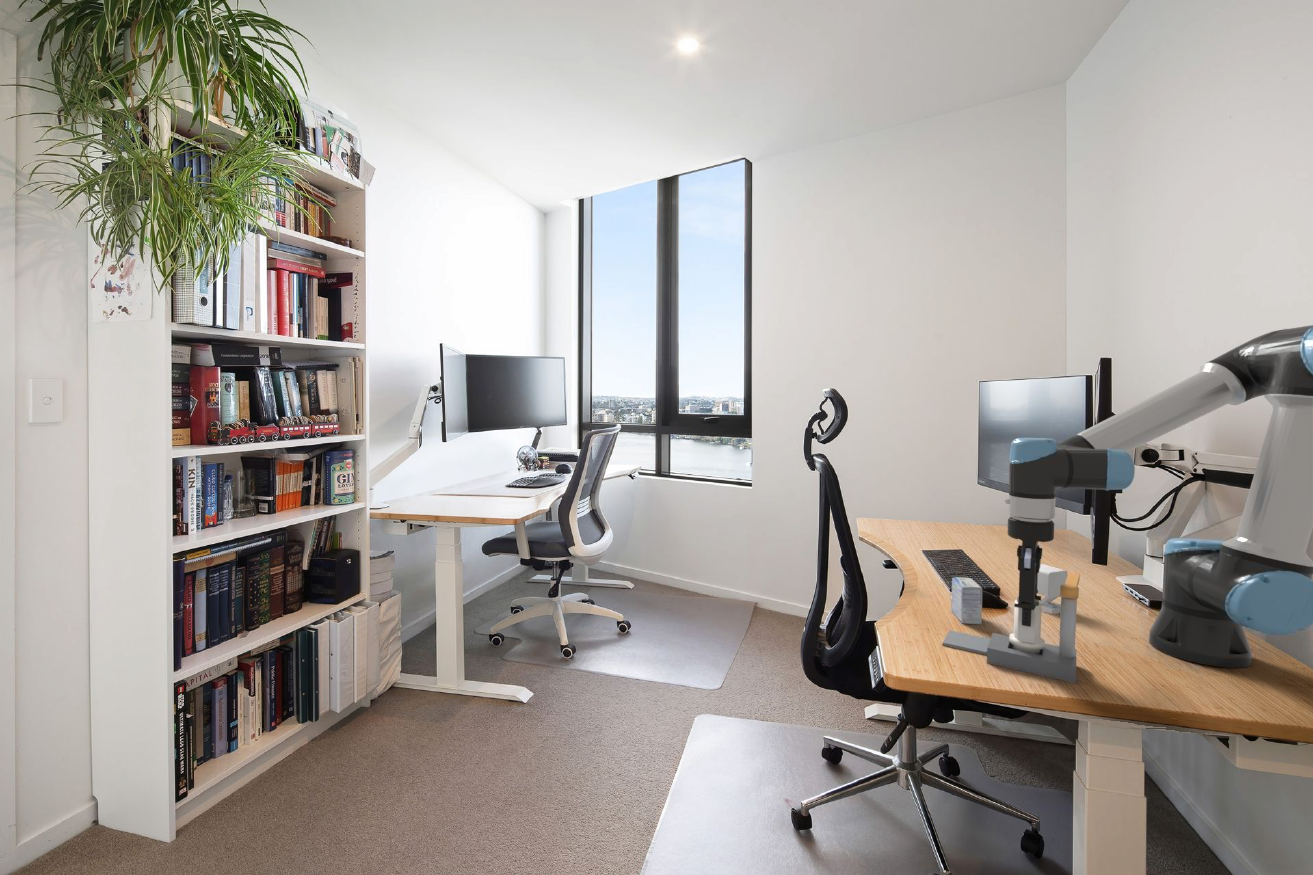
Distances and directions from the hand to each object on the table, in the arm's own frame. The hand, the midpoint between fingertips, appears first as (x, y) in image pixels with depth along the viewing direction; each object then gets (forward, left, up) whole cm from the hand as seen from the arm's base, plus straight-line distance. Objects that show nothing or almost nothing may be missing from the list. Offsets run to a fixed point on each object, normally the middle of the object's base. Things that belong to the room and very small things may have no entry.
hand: (1026, 636), depth 112 cm
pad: (+11, -3, -5) cm, 12 cm away
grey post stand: (-1, +1, -5) cm, 5 cm away
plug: (0, 0, -5) cm, 5 cm away
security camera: (-2, -38, -5) cm, 38 cm away
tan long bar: (-7, -6, +8) cm, 12 cm away
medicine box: (+13, -19, -5) cm, 24 cm away
